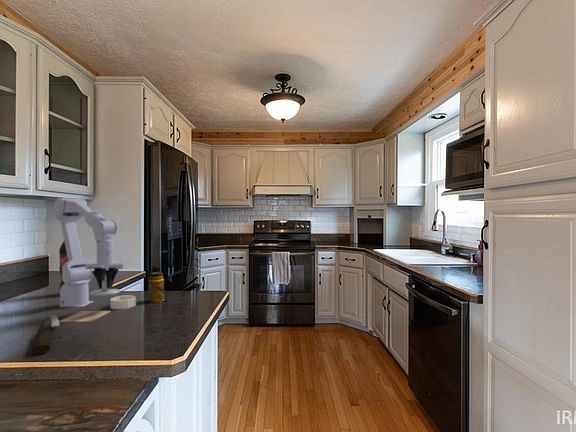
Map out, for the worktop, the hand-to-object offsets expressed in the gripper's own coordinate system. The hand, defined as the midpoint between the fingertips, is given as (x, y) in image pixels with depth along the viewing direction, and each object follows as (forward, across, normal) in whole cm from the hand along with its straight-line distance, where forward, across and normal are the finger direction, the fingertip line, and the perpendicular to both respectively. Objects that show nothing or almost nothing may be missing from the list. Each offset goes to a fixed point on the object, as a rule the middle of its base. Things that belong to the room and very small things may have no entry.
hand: (105, 288), depth 126 cm
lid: (+2, 0, 0) cm, 2 cm away
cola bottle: (+9, -33, +28) cm, 44 cm away
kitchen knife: (+9, -4, -23) cm, 25 cm away
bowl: (+9, +3, +6) cm, 11 cm away
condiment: (+9, +12, +14) cm, 21 cm away
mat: (+9, -4, -7) cm, 12 cm away
